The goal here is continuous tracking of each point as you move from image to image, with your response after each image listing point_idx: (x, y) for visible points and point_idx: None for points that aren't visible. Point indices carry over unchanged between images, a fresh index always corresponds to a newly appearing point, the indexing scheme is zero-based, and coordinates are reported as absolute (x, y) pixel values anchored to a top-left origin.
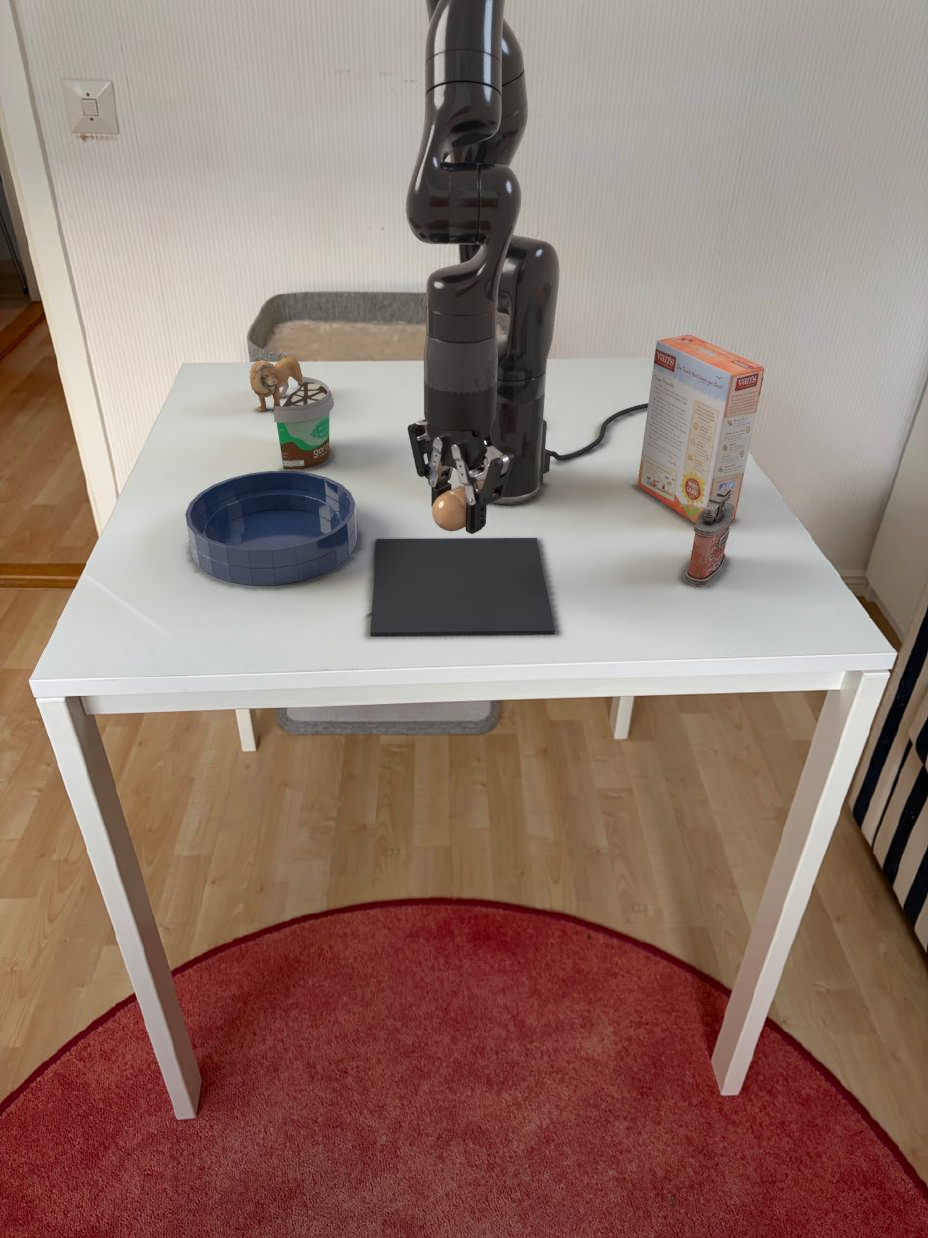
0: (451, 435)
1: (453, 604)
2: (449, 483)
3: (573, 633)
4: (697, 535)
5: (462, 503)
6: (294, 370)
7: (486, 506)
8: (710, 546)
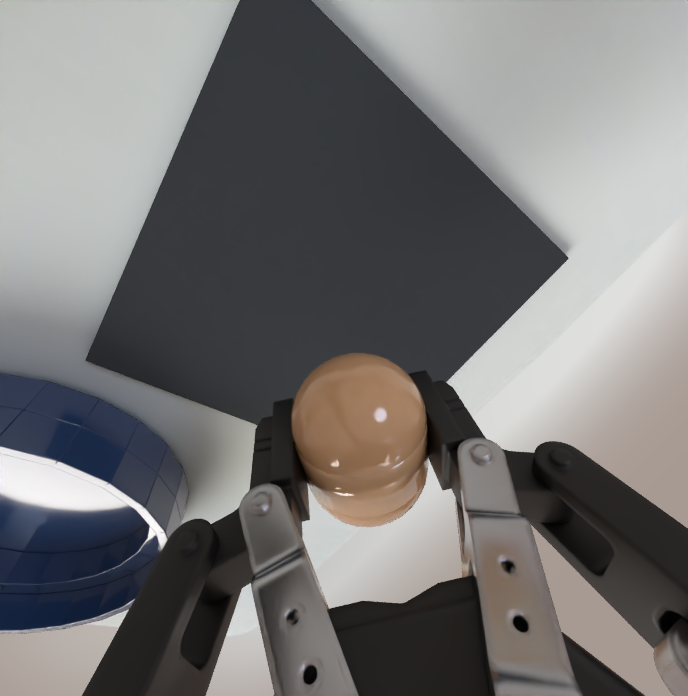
0: None
1: (385, 354)
2: (285, 478)
3: (591, 223)
4: None
5: (420, 484)
6: None
7: (480, 431)
8: None
